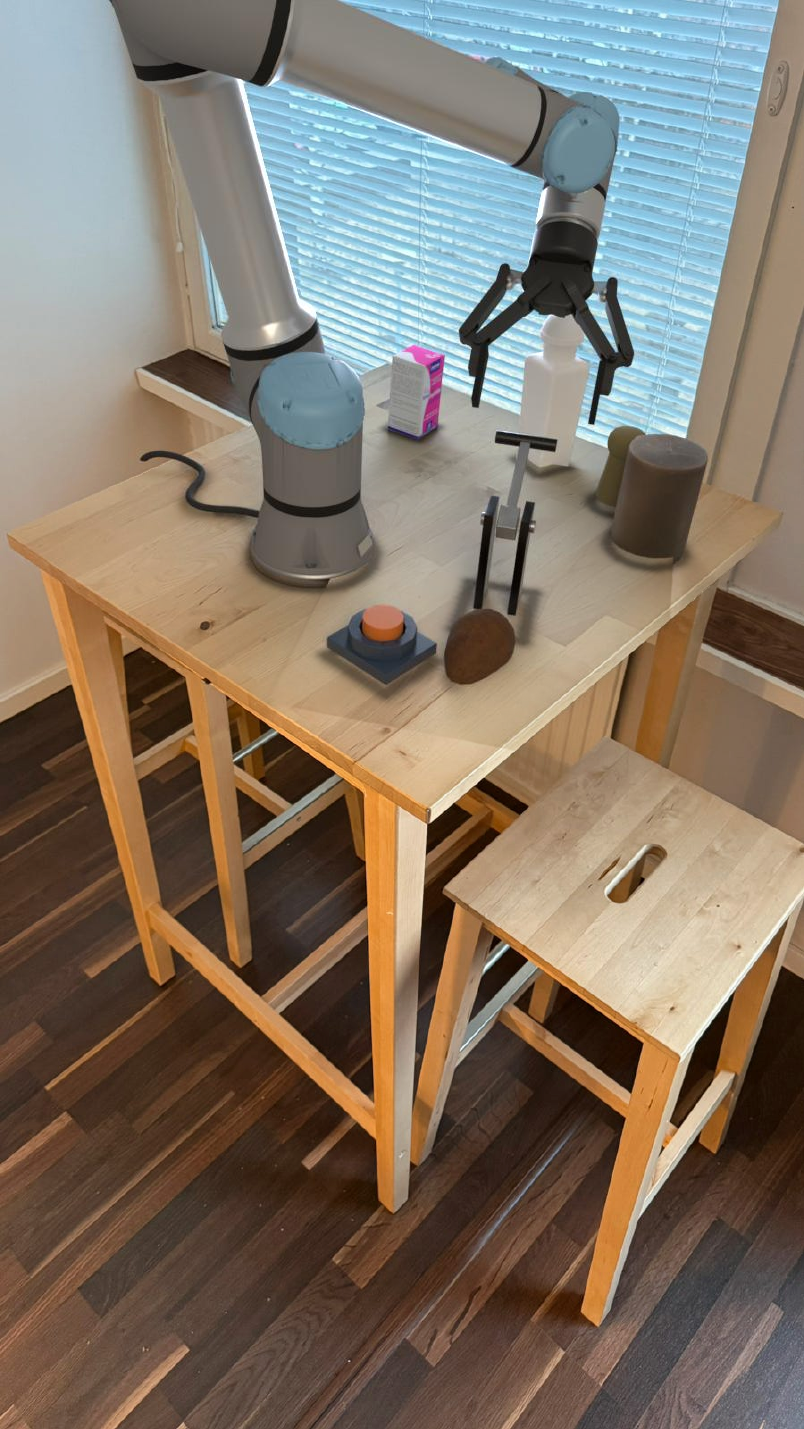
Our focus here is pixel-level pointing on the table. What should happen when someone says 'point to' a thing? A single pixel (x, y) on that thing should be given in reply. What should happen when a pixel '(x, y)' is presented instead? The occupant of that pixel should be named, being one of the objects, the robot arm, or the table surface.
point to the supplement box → (415, 391)
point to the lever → (517, 478)
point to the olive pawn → (616, 463)
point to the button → (382, 623)
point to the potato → (478, 646)
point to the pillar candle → (658, 495)
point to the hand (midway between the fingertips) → (532, 412)
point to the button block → (382, 649)
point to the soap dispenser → (554, 390)
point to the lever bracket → (487, 548)
